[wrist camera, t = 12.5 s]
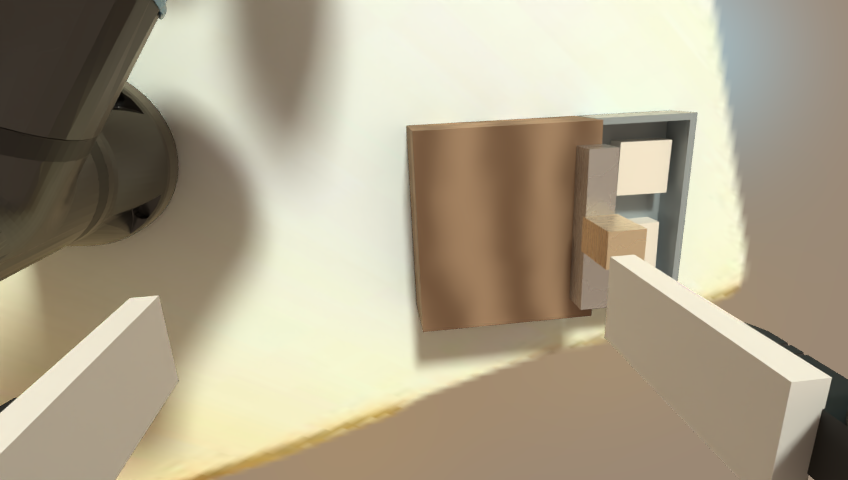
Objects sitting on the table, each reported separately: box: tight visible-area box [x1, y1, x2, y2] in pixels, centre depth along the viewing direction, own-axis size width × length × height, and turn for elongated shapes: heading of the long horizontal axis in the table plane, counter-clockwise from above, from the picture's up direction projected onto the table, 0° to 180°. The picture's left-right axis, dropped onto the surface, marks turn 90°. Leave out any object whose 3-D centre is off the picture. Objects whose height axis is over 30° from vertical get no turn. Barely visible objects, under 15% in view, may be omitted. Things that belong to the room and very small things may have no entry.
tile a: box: [629, 217, 659, 267], centre depth 49 cm, size 5×5×2 cm
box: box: [578, 110, 698, 281], centre depth 47 cm, size 9×18×4 cm, turn 3°
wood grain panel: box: [407, 116, 603, 332], centre depth 45 cm, size 16×18×6 cm
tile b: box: [610, 138, 672, 196], centre depth 47 cm, size 5×5×2 cm
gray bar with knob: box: [569, 144, 647, 310], centre depth 40 cm, size 3×14×7 cm, turn 3°
